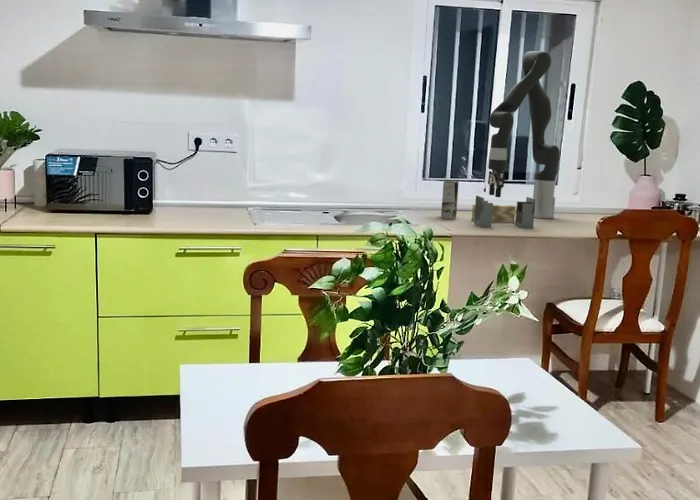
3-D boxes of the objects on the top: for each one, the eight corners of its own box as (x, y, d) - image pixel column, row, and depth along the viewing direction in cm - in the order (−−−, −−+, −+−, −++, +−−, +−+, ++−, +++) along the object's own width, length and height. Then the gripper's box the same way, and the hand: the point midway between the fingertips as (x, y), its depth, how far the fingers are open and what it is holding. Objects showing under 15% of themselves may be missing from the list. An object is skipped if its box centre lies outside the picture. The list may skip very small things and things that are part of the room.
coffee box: (455, 219, 328) (457, 182, 325) (440, 218, 330) (442, 181, 327) (456, 216, 337) (459, 180, 334) (442, 215, 338) (444, 180, 335)
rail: (511, 221, 332) (512, 205, 331) (514, 222, 328) (515, 206, 327) (471, 220, 330) (472, 204, 328) (474, 221, 326) (475, 205, 325)
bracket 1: (479, 227, 310) (481, 198, 308) (473, 224, 318) (476, 195, 315) (491, 227, 311) (493, 198, 308) (485, 224, 318) (487, 196, 316)
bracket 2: (526, 225, 321) (528, 197, 318) (533, 228, 313) (535, 199, 311) (515, 224, 320) (517, 196, 318) (521, 227, 312) (524, 199, 310)
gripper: (511, 160, 317) (508, 198, 320) (500, 157, 331) (497, 194, 334) (494, 159, 316) (491, 197, 319) (484, 157, 330) (481, 194, 333)
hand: (494, 196), depth 327 cm, fingers open, 8 cm apart
